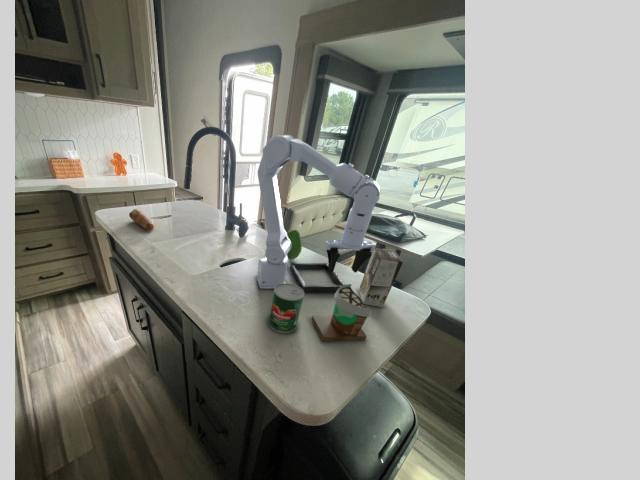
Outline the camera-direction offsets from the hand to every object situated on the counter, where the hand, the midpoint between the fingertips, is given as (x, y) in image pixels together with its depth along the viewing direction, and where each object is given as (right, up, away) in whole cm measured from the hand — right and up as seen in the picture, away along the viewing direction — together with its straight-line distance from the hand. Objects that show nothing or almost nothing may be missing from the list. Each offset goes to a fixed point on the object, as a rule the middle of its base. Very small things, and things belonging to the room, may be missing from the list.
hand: (342, 270), depth 82 cm
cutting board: (-4, -17, -7) cm, 19 cm away
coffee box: (+12, -8, +8) cm, 17 cm away
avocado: (-10, +13, +25) cm, 31 cm away
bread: (-78, +28, +49) cm, 96 cm away
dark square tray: (-4, -2, +15) cm, 16 cm away
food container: (-4, -16, -8) cm, 18 cm away
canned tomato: (-19, -16, -6) cm, 26 cm away
